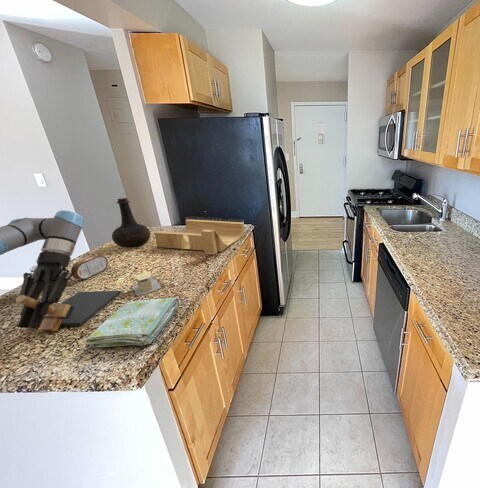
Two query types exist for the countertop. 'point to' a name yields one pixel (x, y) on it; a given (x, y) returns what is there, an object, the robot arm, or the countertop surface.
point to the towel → (134, 323)
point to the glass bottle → (129, 229)
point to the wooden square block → (50, 324)
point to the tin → (89, 267)
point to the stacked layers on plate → (145, 283)
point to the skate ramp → (202, 236)
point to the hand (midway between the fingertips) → (28, 326)
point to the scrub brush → (53, 310)
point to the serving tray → (87, 306)
